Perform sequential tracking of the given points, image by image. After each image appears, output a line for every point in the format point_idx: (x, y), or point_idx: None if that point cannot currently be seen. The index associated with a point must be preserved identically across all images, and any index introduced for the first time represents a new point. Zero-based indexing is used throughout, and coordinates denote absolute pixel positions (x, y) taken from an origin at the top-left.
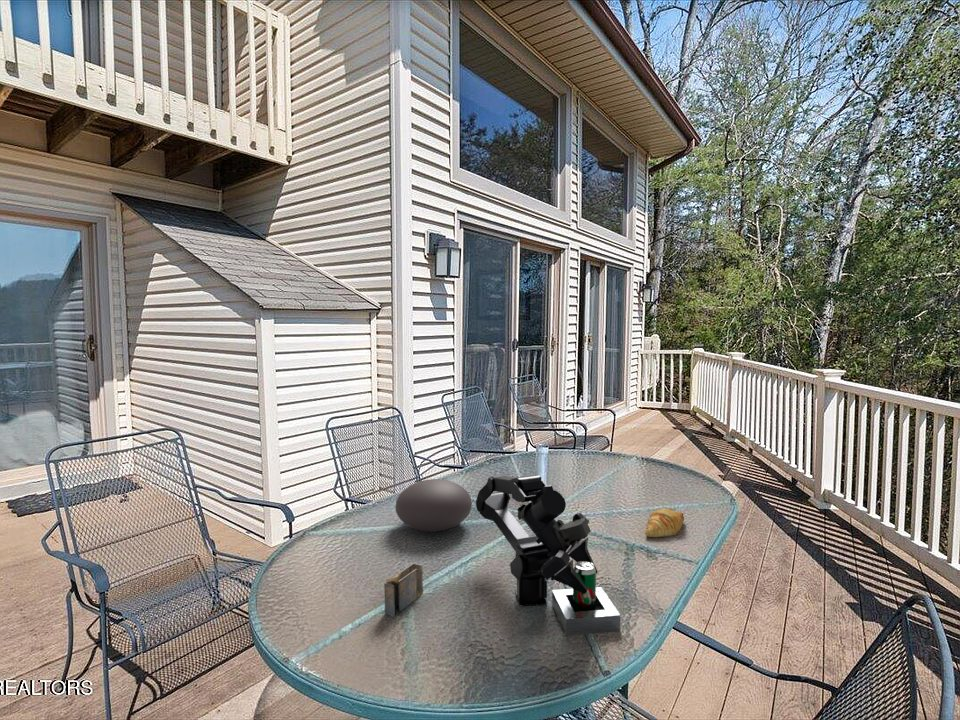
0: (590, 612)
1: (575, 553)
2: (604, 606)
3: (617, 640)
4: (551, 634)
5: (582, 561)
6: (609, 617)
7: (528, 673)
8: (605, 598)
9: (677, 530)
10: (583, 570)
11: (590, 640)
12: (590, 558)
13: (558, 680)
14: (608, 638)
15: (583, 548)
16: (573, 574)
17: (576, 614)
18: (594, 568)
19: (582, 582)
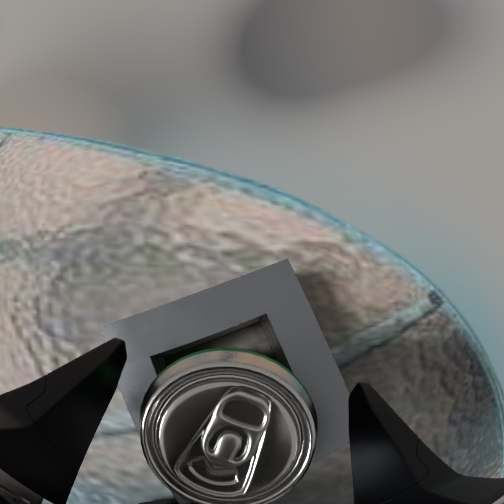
0: (302, 365)
1: (50, 480)
2: (244, 316)
3: (325, 282)
4: (349, 455)
5: (154, 460)
6: (304, 296)
7: (464, 433)
8: (181, 313)
9: None
10: (313, 441)
11: (349, 354)
12: (61, 382)
13: (470, 379)
14: (324, 307)
15: (16, 443)
16: (443, 462)
17: (329, 410)
18: (219, 360)
19: (378, 414)
